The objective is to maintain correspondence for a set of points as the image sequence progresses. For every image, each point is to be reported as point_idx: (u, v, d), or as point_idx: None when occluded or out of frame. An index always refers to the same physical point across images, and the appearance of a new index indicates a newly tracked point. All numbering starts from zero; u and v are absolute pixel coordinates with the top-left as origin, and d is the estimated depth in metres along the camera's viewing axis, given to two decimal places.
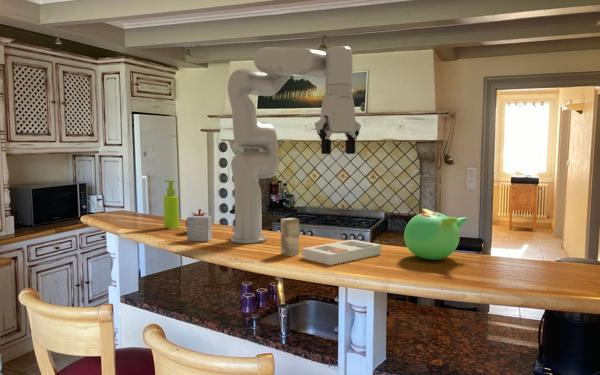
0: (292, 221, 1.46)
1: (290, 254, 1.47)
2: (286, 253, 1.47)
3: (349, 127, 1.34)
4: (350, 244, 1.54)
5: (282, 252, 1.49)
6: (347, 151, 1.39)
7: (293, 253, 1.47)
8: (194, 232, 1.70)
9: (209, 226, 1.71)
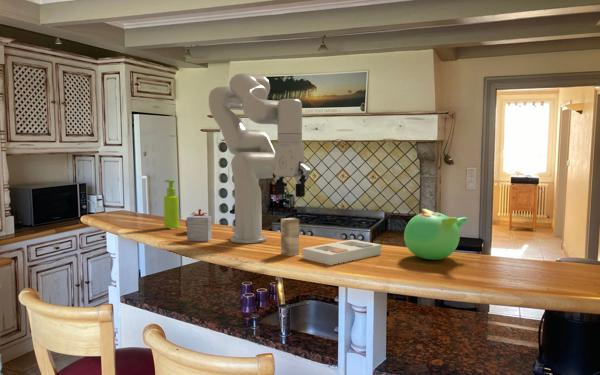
0: (292, 221, 1.46)
1: (290, 254, 1.47)
2: (286, 253, 1.47)
3: None
4: (350, 244, 1.54)
5: (282, 252, 1.49)
6: (279, 192, 1.51)
7: (293, 253, 1.47)
8: (194, 232, 1.70)
9: (209, 226, 1.71)
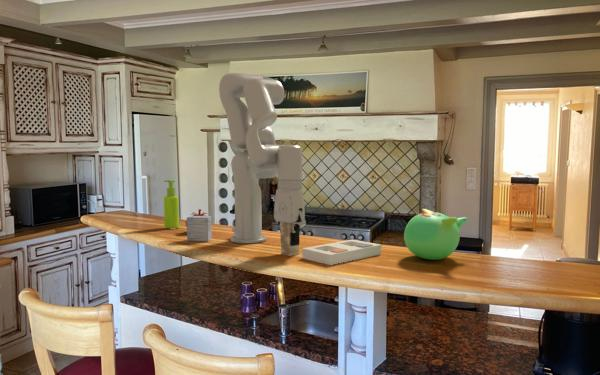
0: None
1: (290, 254, 1.47)
2: (286, 253, 1.47)
3: None
4: (350, 244, 1.54)
5: (282, 252, 1.49)
6: None
7: (293, 253, 1.47)
8: (194, 232, 1.70)
9: (209, 226, 1.71)
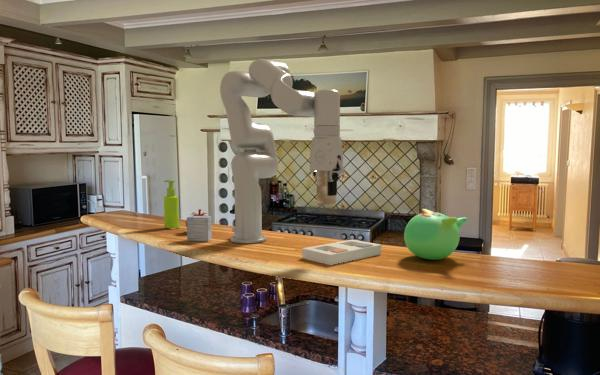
0: None
1: (327, 204, 1.40)
2: (323, 203, 1.40)
3: None
4: (350, 244, 1.54)
5: (318, 203, 1.42)
6: None
7: (330, 203, 1.40)
8: (194, 232, 1.70)
9: (209, 226, 1.71)
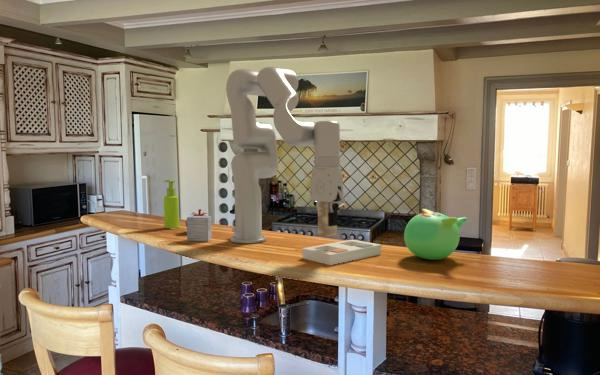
0: None
1: (328, 235, 1.40)
2: (324, 234, 1.41)
3: None
4: (350, 244, 1.54)
5: (319, 233, 1.42)
6: None
7: (331, 234, 1.41)
8: (194, 232, 1.70)
9: (209, 226, 1.71)
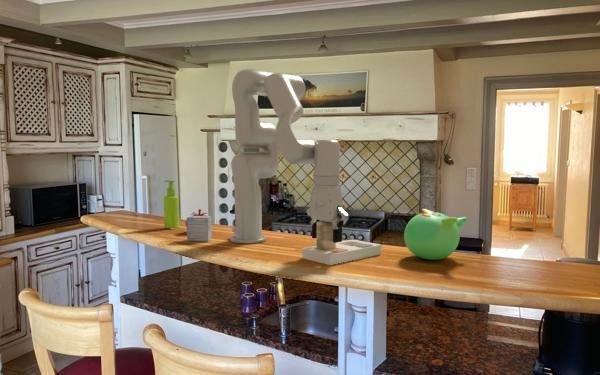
0: (329, 224, 1.41)
1: None
2: None
3: None
4: (350, 244, 1.54)
5: None
6: (315, 236, 1.45)
7: None
8: (194, 232, 1.70)
9: (209, 226, 1.71)
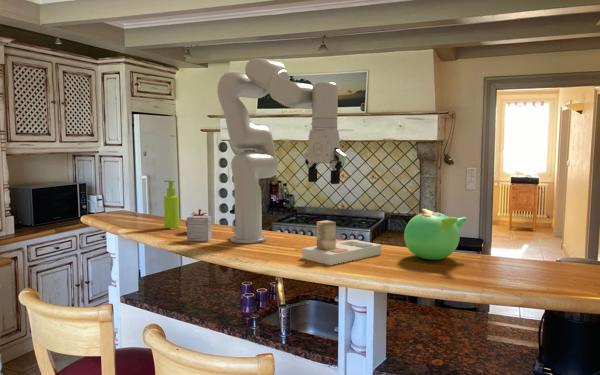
0: (329, 224, 1.41)
1: None
2: None
3: None
4: (350, 244, 1.54)
5: None
6: (311, 179, 1.46)
7: None
8: (194, 232, 1.70)
9: (209, 226, 1.71)
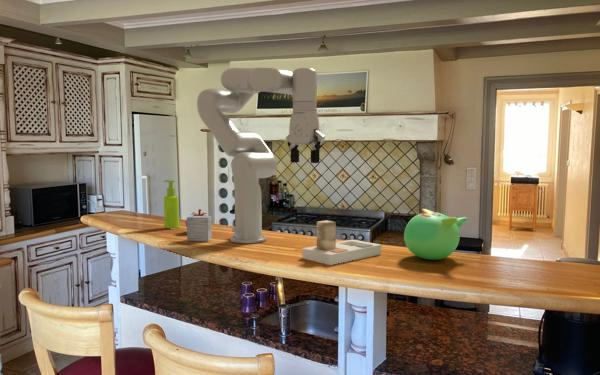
0: (329, 224, 1.41)
1: None
2: None
3: None
4: (350, 244, 1.54)
5: None
6: (293, 160, 1.55)
7: None
8: (194, 232, 1.70)
9: (209, 226, 1.71)
